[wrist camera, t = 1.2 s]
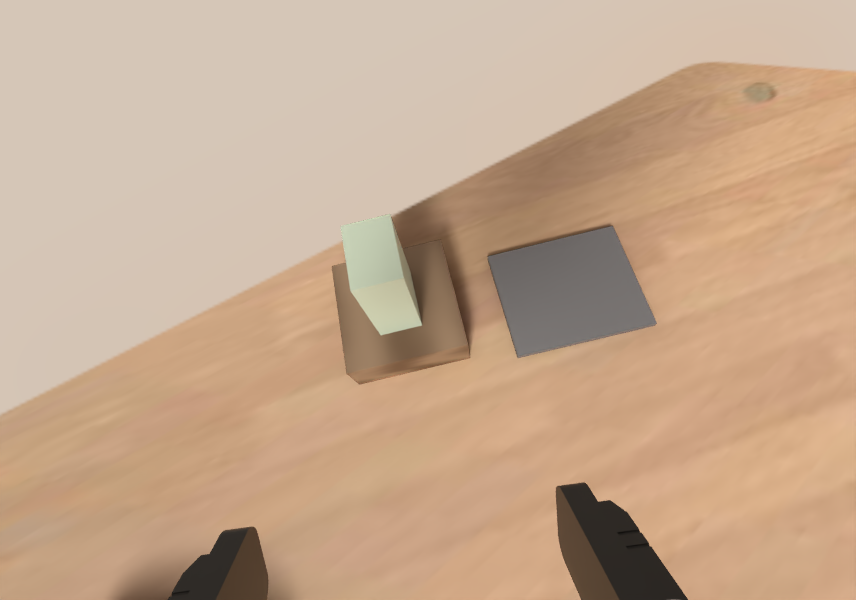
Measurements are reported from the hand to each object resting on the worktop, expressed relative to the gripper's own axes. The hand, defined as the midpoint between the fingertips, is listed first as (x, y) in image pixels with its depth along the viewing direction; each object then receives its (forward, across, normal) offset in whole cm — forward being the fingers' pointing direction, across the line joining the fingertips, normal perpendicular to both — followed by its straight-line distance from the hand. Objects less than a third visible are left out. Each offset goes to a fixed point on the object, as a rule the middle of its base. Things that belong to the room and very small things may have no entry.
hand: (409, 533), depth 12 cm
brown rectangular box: (+30, 0, +3) cm, 30 cm away
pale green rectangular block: (+26, +1, 0) cm, 27 cm away
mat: (+29, -14, +2) cm, 32 cm away
